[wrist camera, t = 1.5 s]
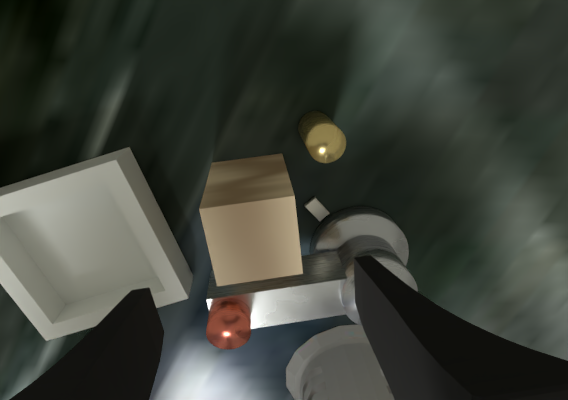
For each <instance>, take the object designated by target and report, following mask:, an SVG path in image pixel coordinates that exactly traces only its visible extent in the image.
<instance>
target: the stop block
mask: <svg viewBox="0 0 568 400" xmlns="http://www.w3.org/2000/svg"><path fill="white" fill-rule="evenodd" d="M199 211H200V215H201V219H202V224H203V228H204V232H205V236H206V241H207V245H208V249H209V253H210V258H211V262H212V266H213V270H214V275H215V279H216V283H217V286H224V285H230V284H237V283H244V282H251V281H258V280H264V279H271V278H278V277H285V276H291V275H298V274H303V268H302V259H301V250H300V241H299V231H298V222H297V213H296V204H295V195H294V192H293V188H292V185H291V182H290V178H289V175H288V171H287V168H286V165H285V161H284V158H283V154H282V153H281V154H273V155H266V156H259V157H251V158H244V159H236V160H229V161H222V162H214V163H212V164H211V168H210V171H209V175H208V179H207V182H206V186H205V190H204V193H203V197H202V201H201V204H200V208H199Z"/></svg>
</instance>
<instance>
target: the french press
mask: <svg viewBox="0 0 568 400" xmlns="http://www.w3.org/2000/svg"><path fill="white" fill-rule="evenodd" d="M286 387H287V388H288V390H289V391H290V393H291V395H292V396H293V398H294V399H295V400H395V399H394V397H393V394H392V392H391V389H390V387H389V385H388V382H387V380H386V378H385V376H384V374H383V371H382V369H381V367H380V365H379V363H378V360H377V358H376V356H375V354H374V352H373V350H372V347H371V345H370V343H369V341H368V338H367V336H366V334H365V332H364V329H363V327H362V326H361V325H344V326H337V327H335V328H332V329H330V330H327V331H324V332H322V333H319V334H317V335H314V336H313V337H312V338H311V339H309V340H308V341H307V342H306V343H304V344H303V345H302V346H301V347H299V348H298V349H297V350H296V351H295V353H294V355H293V357H292V358H291V360H290V362H289V364H288V366H287V368H286Z"/></svg>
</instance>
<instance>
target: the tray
mask: <svg viewBox="0 0 568 400" xmlns="http://www.w3.org/2000/svg"><path fill="white" fill-rule="evenodd" d="M192 281H193V274H192V272H191V270H190V268H189V266H188V264H187V262H186V260H185V258H184V256H183V254H182V252H181V250H180V248H179V246H178V244H177V242H176V240H175V238H174V236H173V234H172V232H171V230H170V228H169V226H168V224H167V222H166V220H165V218H164V216H163V214H162V212H161V210H160V208H159V206H158V204H157V202H156V200H155V198H154V196H153V194H152V192H151V190H150V188H149V185H148V183H147V181H146V179H145V177H144V175H143V173H142V171H141V169H140V167H139V165H138V163H137V161H136V159H135V157H134V155H133V153H132V151H131V149H130V147H127V148H124V149H121V150H118V151H115V152H112V153H109V154H105V155H102V156H99V157H96V158H93V159H90V160H86V161H83V162H80V163H77V164H74V165H71V166H68V167H64V168H61V169H58V170H55V171H52V172H49V173H45V174H42V175H39V176H36V177H33V178H30V179H27V180H23V181H20V182H17V183H14V184H11V185H8V186H4V187H1V188H0V284H1V285H2V286H3V287H4V289H5V290H6V291H7V292H8V294H9V295H10V296H11V297H12V299H13V300H14V301H15V302H16V304H17V305H18V306H19V307H20V309H21V310H22V311H23V313H24V314H25V315H26V316H27V318H28V319H29V320H30V321H31V323H32V324H33V325H34V326H35V328H36V329H37V330H38V331H39V333H40V334H41V335H42V336H43V338H44V339H45V340H46V341H48V340H52V339H55V338H58V337H62V336H65V335H68V334H72V333H75V332H78V331H82V330H85V329H88V328H92V327H95V326H97V325H98V324H99V323H100V322H101V321H102V320H103V319H104V317H105V316H106V315H107V314H108V313H109V312H110V311H111V310H112V309H113V308H114V307H115V306H116V305H117V304H118V303H119V302H120V301H121V300H122V299H123V298H124V297H125V296H126V295H127V294H128V293H129V292H130V291H131V290H135V289H142V288H150V291H151V294H152V297H153V300H154V303H155V306H156V308H159V307H162V306H165V305H169V304H172V303H175V302H179V301H182V300H185V299H189V294H190V290H191V285H192Z"/></svg>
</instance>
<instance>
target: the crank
mask: <svg viewBox="0 0 568 400" xmlns="http://www.w3.org/2000/svg"><path fill="white" fill-rule="evenodd" d="M368 255H371V256H372V257H373V258H375V259H376V260H377V261H378V262H380V263H381V264H382V265H383V266H384V267H386V268H387V269H388V270H389V271H391V272H392V273H393V274H394V275H396V276H397V277H398V278H399V279H401V280H402V281H403V282H405V283H406V284H407V285H409V286H410V287H411V288H413V289H414V290H415V291H417V292H418V288H417V284H416V282H415V280H414V278H413V277H412V275H411V274H410V272H409V271H408V269H407V268H406V266H405V265H404V264H403V262H402V261H401V259H400V258H399V256H398V255H397V253H396V252H395V250H394V249H393V247H392V246H391V245H390V243H389V242H387V241H386V240H385V239H383V238H381V237H378V236H374V235H362V236H357V237H354V238H352V239H350V240H348V241H346V242H345V243H343V244H342V245H341V246H340V247H339V248H338V249H337V250H336V251H332V252H325V253H318V254H311V255H304V256H301V259H302V268H303V274H298V275H291V276H285V277H278V278H271V279H264V280H258V281H251V282H244V283H237V284H230V285H224V286H217V283H216V279H215V275H214V270H213V269H211V273H210V280H209V287H208V293H207V304H208V308H209V316H208V323H207V330H206V335H207V338H208V340H209V342H210V343H211V344H213V345H214V346H216V347H218V348H221V349H235V348H238V347H240V346H242V345H244V344H245V343H246V342H247V341H248V340H249V338H250V335H251V329H254V328H260V327H267V326H273V325H280V324H286V323H293V322H300V321H306V320H313V319H319V318H326V317H332V316H339V315H345V314H346V315H347V316H348V317H349V318H350V319H351V320H352V321H353V322H354V323H356V324H358V325H361V326H362V323H361V320H360V317H359V314H358V311H357V307H356V304H355V283H354V258H355V257H362V256H368Z"/></svg>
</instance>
